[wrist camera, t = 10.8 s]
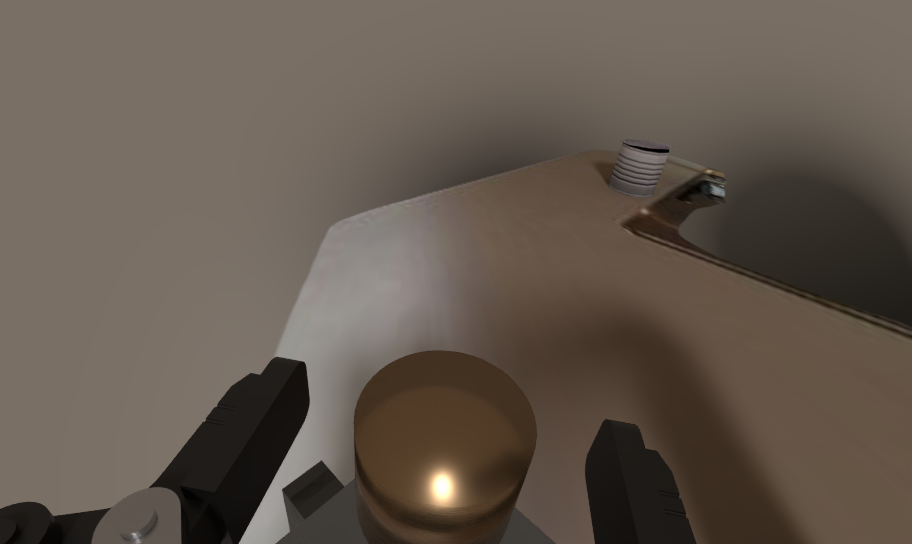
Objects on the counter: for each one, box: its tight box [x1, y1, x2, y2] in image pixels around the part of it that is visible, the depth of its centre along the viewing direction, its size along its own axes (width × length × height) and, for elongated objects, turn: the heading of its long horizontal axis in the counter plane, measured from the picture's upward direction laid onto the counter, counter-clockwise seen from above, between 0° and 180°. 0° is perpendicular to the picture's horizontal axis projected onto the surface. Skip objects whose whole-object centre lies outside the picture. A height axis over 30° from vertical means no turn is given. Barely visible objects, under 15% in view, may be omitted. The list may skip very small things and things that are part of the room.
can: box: [608, 139, 672, 198], centre depth 101 cm, size 11×11×12 cm
